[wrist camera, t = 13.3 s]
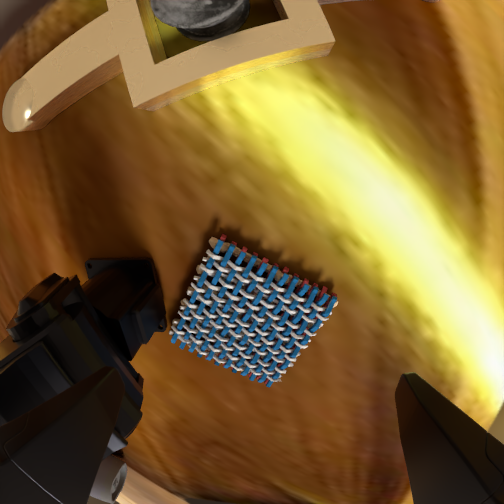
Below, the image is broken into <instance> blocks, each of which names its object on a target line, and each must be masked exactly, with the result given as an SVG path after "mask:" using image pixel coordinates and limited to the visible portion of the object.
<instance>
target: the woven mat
mask: <svg viewBox="0 0 504 504" xmlns="http://www.w3.org/2000/svg"><path fill="white" fill-rule="evenodd" d="M226 237H227V236H226V235H224V234H222V236H221V238H220V240H218V239H217V238H215V237H211V239H210V240H209V243H210V245H211V247H212V248H213V249H214V251H213V253H212V252H211V251H210V250H209V249H208V250H207V251H206V253H207V254H208V257H207V258H206V257H203V259H202V261H206V262H207V265H206V266H205V265H203V264H202V263H201V265H198V266H197V268H196V270H197V273H198V274H202V275H201V277H199V276H194V279H195V280H196V282H197V283H198V284H197V286H196V285H195V284H194V283H191V286H192V287H193V288H192V287H190V286H189V288H188V290H187V292H186V293H188V294H187V295H189V296H191V299H190V301H188V300H187V299H186V298H184V299H183V300H181V305H182V306H180V309H183V311H182V312H181V311H178V313H179V314H180V316H181V317H182V318H181V320H180V319H173V321H172V324H173V325H172V329H173V331H169V334H170V335H172V336H173V337H172V340H171V342H172V343H174V344H175V342H176V340H177V338H178V339H180V340H182V342H181V344H180V347H179V348H181V349H183V348H184V346H185V344H186V343H187V345H188V346H189V351H190V352H193V351H194V349H196V350H197V351H198V353H197V356H198V357H200V358H201V357H202V354H203V355H207V356H206V357H207V358H206V359H207V360H209V361H210V360H211V359H212V358H214V359H215V363H214V364H215V365H218V366H219V364H220V363H224V364H223V366H224V367H225V368H228V367H230V365H231V366H232V368H231V369H232V372H234V373H236V372H237V371H240V370H241V371H242V372H241V375H243V376H245V375H246V374H248V372H250V373H249V375H248V377H250V378H249V379H250V380H252V381H253V380H254V379H255V377H256V375H258V376H257V377H256V379H258V382H260V383H261V382H263V381H264V384H266V386H267V387H270V386H271V384H272V383H273V381H276V382H277V381H281V379H278V377H279V378H280V377H281V375H280V374H281V373H286V370H284V369H285V368H287V367H288V366H289V367H290V366H293V365H294V364H293V363H291V361H296V358H295V357H297V356H298V355H300V354H301V353H299V350H300V348H303V349H305V348H306V347H308V346H306V345H305V344H307V343H308V342H310V341H311V340H310V339H309V338H310V336H315V335H316V334H314V333H313V332H315V331H316V330H317V329H319V328H320V327H322V325H323V323H322V321H323V320H327V319H328V318H325V317H327V316H328V315H329V314H330V315H331V314H332V312H331V310H332V308H334V307H335V306H337V304H338V301H337V294H335V293H332V294H331V296H330V295H329V294H327V293H326V291H327V289H328V288H327V287H325V286H323V288H322V289H321V290H319V288H318V284H316V283H314V284H313V285H312V286H311V285H309V284H308V282H309V280H308V279H306V278H305V279H304V280H303V281H302V280H300V279H299V278H298V277H299V275H297V274H296V273H294V275H293V276H292V275H290V274H287V273H288V272H289V268H288V267H286V266H285V267H284V268H283V269H282V271H280V270H279V269H278V268H279V265H278V264H276V263H274V265H273V266H272V265H270V264H268V263H267V262H268V261H269V259H267V258H265V257H264V258H263V260H261V259H259V258H257V257H258V254H257V253H255V252H254V253H253V254H252V255H251V254H249V253H247V252H246V251H247V249H248V248H246V247H244V246H243V248H242V250H241V249H239V248H237V247H236V244H237V243H236V242H234V241H232V243H231V244H229V243H224V242H225V239H226ZM219 252H222V253H226V254H225V256H224V257H221V256H218V254H219ZM231 255H234V256H236V257H237V259H236V260H235V262H234V263H232V262H231V261H230V260H229V259H230V257H231ZM242 260H243V261H245V262H247V265H246V267H245V268H244V267H239V266H240V264H241V262H242ZM213 265H214V266H215V267H216V268H217V269H218V270H214V269H212V266H213ZM253 266H255V267H257V268H258V269H257V270H256V272H255V274H254V273H253V272H252V271H251V269H252V267H253ZM264 271H265V272H267V273H268V274H267V276H266V277H265V278H261V277H260V276H261V275H262V274H263V272H264ZM222 272H227V273H228V275H227V274H224V273H222ZM207 276H210V277H212V278H213V280H212V281H211V283H209V282H208V281H207V280H206V278H207ZM233 277H237V278H238V279H239V280H237V279H235V278H233ZM273 278H274V279H275V283H273V282H272V280H273ZM218 281H219V282H220V283H221V284H222V287H218V286H215V285H216V284H217V282H218ZM283 284H287V286H286V287H285V288H281V287H282V285H283ZM255 286H256V287H257V288H256V287H255ZM295 287H297V290H296V291H294V292H293V290H294V288H295ZM227 288H231V289H233V290H232V292H229V291H227ZM238 292H240V293H241V294H242V296H241V297H239V296H237V294H238ZM306 292H307V294H306V295H305V297H304V298H301V297H302V296H303V295H304V294H305V293H306ZM204 293H205V294H204ZM265 293H269V294H268V295H267V294H265ZM210 296H212V297H213V298H214V299H213V298H211V297H210ZM276 296H277V297H278V299H275V298H276ZM222 297H223V298H225V299H222ZM315 297H317V298H316V299H315V300H314V298H315ZM248 298H249V299H250V300H251V301H250V302H249V301H248V300H247V299H248ZM196 299H197V300H199V301H200V302H201V303H200V304H194V303H195V301H196ZM313 300H314V302H313ZM224 303H225V304H224ZM234 303H235V304H236V305H235V304H234ZM284 303H286V304H284ZM323 303H325V304H324V305H323V306H322V307H320V306H321V305H322V304H323ZM257 304H262V305H261V307H259V306H257ZM205 305H208V306H210V309H208V308H206V307H205ZM231 306H232V307H233V309H232V308H231ZM242 307H244V308H246V309H241V308H242ZM296 307H297V308H296ZM268 308H270V309H269V310H268ZM295 308H296V310H295ZM215 310H216V311H217V312H218V313H216V312H215ZM280 311H281V314H280V315H279V316H278V315H277V314H278V313H279V312H280ZM253 312H254V313H256V314H254V313H253ZM304 312H305V313H304ZM201 313H202V314H204V315H206V316H202V315H201ZM289 315H290V316H291V317H290V318H289V320H287V319H288V316H289ZM226 317H227V318H226ZM211 318H212V319H214V320H215V322H214V321H213V320H212V319H211ZM186 319H187V320H189V321H190V322H191V324H189V323H187V322H185V321H186ZM234 321H236V322H237V323H236V322H234ZM298 321H299V323H298V324H297V325H296V323H297V322H298ZM209 322H210V323H211V324H210V323H209ZM245 322H247V323H245ZM221 323H222V324H224V325H220V324H221ZM200 325H201V326H200ZM270 325H272V326H270ZM195 326H196V327H195ZM243 326H244V327H246V328H244V327H243ZM281 326H284V327H281ZM176 327H177V329H176ZM182 328H184V329H186V330H187V332H183V331H181V329H182ZM231 328H232V329H234V330H232V329H231ZM254 330H256V331H254ZM264 331H266V332H264ZM191 333H194V334H196V336H195V337H194V336H193V335H192V334H191ZM300 334H301V335H300ZM201 337H203V338H205V340H204V341H201V340H199V339H200V338H201ZM224 337H226V338H224ZM274 337H276V338H275V339H274ZM273 339H274V340H273ZM210 341H211V342H213V343H214V344H213V346H212V345H211V344H210V343H209V342H210ZM223 341H224V342H225V343H224V342H223ZM259 341H261V342H259ZM236 342H237V343H236ZM232 344H233V345H232ZM243 345H244V346H243ZM268 345H270V346H268ZM242 346H243V347H242ZM217 348H219V349H217ZM277 349H278V350H277ZM205 350H207V351H209V352H204V351H205ZM252 351H253V353H251V352H252ZM286 353H287V354H286ZM215 354H216V355H217V356H216V355H215ZM238 354H239V355H240V356H239V357H235V356H237V355H238ZM223 358H224V359H226V360H222V359H223ZM246 359H248V360H246ZM269 360H270V361H269ZM232 362H233V363H234V364H233V363H232ZM256 362H257V363H256ZM255 363H256V365H253V364H255ZM263 366H264V367H263ZM265 379H266V380H265Z"/></svg>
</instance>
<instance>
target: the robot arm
mask: <svg viewBox="0 0 504 504" xmlns="http://www.w3.org/2000/svg"><path fill="white" fill-rule="evenodd" d="M145 263H147V264H148V265H149V267H147V266H146V265H145ZM90 264H91V265H92V266H91V265H90ZM85 267H86V271H87V274H88V278H89V280H88V281H86V282H85V283H84V284H83V285H82V286H81V285H80V280H79V279H78V277H77V275H74V276H72V277H70V278H68V277H66V278H64V277H60V276H59V275H57V274H56V273H53V274H51V275H49V276H48V277H47V278H45V279H44V280H43V281H41V282H40V283H38V284H37V285H36V286H35V287H33V288H32V289H31V290H30V291H29V292H28V293H27V294H26V295H25V296H24V297H23V298H22V299H21V300H20V301H19V307H18V310H17V312H16V313H15V315H14V316H13V318H12V320H11V321H10V323H9V324H8V326H7V328H6V329H7V331H8V332H9V334H10V335H9V336H8V337H7V338H6V339H4V340H3V341H2V342H1V343H0V504H87V502H88V498H89V496H90V493H91V490H92V487H93V484H94V481H95V478H96V475H97V473H98V470H99V467H100V464H101V462H102V461H103V460H104V459H105V458H106V457H108V456H109V455H111V454H112V453H113V452H115V451H117V450H119V449H121V448H123V447H125V446H127V444H128V442H127V441H126V440H125V439H126V438H127V437H128V436H129V435H130V434H131V433H132V432H133V431H134V429H135V428H136V426H137V425H138V423H139V421H140V420H141V418H142V412H141V411H140V409H141V405H142V401H143V392H142V389H143V381H144V379H143V378H142V376H141V375H140V374H139V373H137V372H136V371H135V369H134V368H133V367H132V365H131V364H130V362H129V361H132V359H133V358H134V356H135V355H136V353H137V351H138V350H139V348H140V347H141V345H142V344H147V343H148V342H149V340H150V338H151V337H152V335H153V333H154V332H164V331H165V330H166V328H167V322H166V318H165V314H166V310H165V305H164V301H163V296H162V292H161V287H160V286H159V284H158V282H157V277H156V272H155V267H154V263H153V261H152V259H150V258H90V259H88V260H87V261H86V262H85ZM160 325H162V326H163V327H161V326H160ZM395 402H396V408H397V416H398V423H399V432H400V439H401V444H402V448H403V452H404V457H405V461H406V466H407V471H408V475H409V480H410V486H411V491H412V497H413V502H414V504H504V444H502V443H501V442H500V441H499V440H497V439H496V438H495V437H493V436H492V435H491V434H490V433H487V431H486V430H485V429H484V428H483V427H481V426H480V425H479V424H478V423H476V422H475V421H474V420H473V419H472V418H470V417H469V416H468V415H467V414H466V413H464V412H463V411H462V410H461V409H459V408H458V407H457V406H456V405H455V404H453V403H452V402H451V401H450V400H448V399H447V398H446V397H445V396H444V395H442V394H441V393H440V392H439V391H437V390H436V389H435V388H434V387H433V386H431V385H430V384H429V383H428V382H426V381H425V380H424V379H423V378H422V377H420V376H419V375H418V374H417V373H415V372H409V373H404V374H402V375H401V377H400V380H399V383H398V386H397V388H396V391H395Z"/></svg>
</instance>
